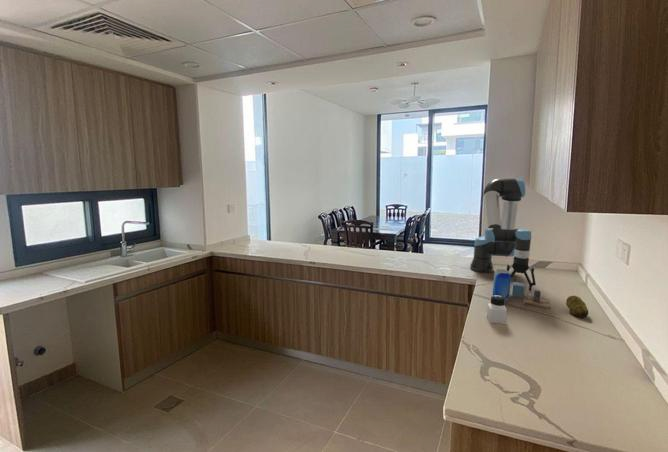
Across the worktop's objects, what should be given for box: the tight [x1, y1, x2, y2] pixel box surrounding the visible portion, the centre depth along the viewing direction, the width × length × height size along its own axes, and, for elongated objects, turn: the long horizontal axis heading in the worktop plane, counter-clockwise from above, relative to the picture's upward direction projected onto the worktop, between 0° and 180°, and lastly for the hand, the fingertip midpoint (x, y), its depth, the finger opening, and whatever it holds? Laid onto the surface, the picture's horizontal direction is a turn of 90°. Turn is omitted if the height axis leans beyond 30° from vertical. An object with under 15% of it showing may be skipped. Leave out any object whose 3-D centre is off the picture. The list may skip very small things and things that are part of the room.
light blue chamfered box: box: [511, 281, 525, 298], centre depth 204 cm, size 6×6×7 cm
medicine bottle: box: [486, 295, 508, 325], centre depth 171 cm, size 7×7×12 cm
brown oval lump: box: [565, 295, 589, 318], centre depth 179 cm, size 8×13×8 cm, turn 156°
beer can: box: [492, 268, 512, 301], centre depth 198 cm, size 8×8×16 cm
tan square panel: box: [523, 289, 551, 310], centre depth 193 cm, size 12×12×6 cm
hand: (517, 294), depth 204 cm, fingers open, 9 cm apart
